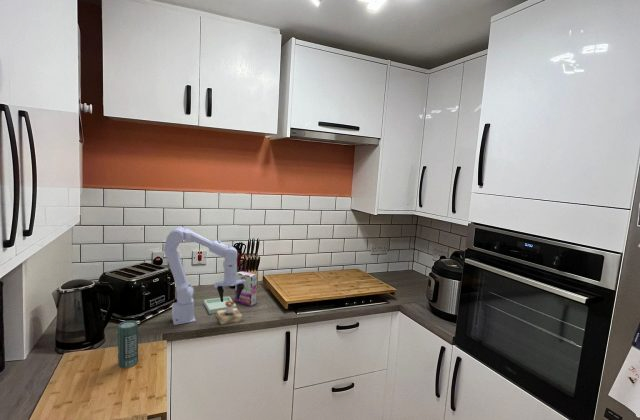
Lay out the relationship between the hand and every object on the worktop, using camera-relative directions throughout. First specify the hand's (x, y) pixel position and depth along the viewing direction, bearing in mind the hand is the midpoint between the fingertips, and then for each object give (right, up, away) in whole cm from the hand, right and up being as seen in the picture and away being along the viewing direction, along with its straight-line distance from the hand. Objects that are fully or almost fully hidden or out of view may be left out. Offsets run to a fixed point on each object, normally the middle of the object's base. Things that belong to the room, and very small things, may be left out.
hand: (229, 300), depth 164 cm
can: (-27, -13, -39) cm, 49 cm away
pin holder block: (-1, -9, +1) cm, 9 cm away
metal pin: (-1, -9, +1) cm, 9 cm away
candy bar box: (+3, -7, +21) cm, 22 cm away
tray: (-9, -7, +13) cm, 17 cm away
